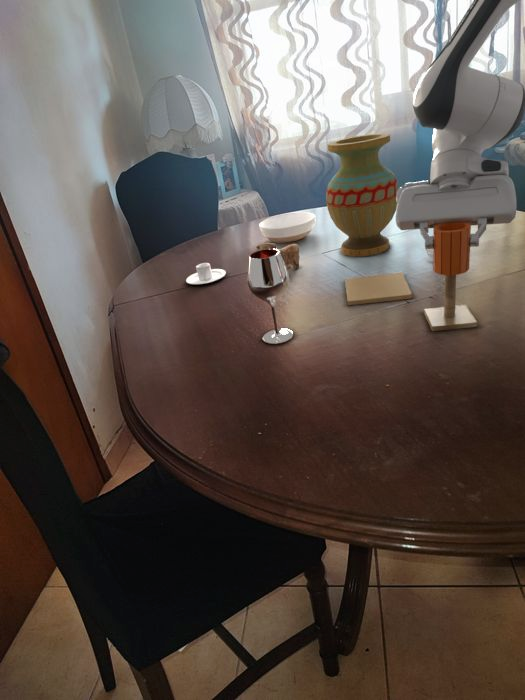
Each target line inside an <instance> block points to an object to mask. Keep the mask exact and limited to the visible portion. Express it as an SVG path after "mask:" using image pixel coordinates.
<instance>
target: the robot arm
mask: <svg viewBox="0 0 525 700" xmlns="http://www.w3.org/2000/svg"><path fill="white" fill-rule="evenodd" d="M521 1H522V0H473V1H472V3H470V6H468V9H467V10H466V12H465V14H464V15H463V17H462V18H461V19H460V22H459V23H458V25H457V26H456V27H455V29H454V30H453V32H452V34H451V35H450V37H449V39H448V40H447V42H446V43H445V44H444V46H443V48H442V49H441V51H440V53H438V55H437V56H436V57H435V59H434V60H433V61H432V63H430V65H429V66H428V68H427V69H425V72H424V73H423V75H422V76H421V78H420V80H419V81H418V83H417V85H416V88H415V89H414V92H413V95H412V101H411V106H412V110H413V113H414V116H415V118H416V120H417V121H418V123H419V124H420V126H421V127H422V128H427V129H433V134H432V141H431V148H432V149H431V150H432V152H433V157H432V160H431V163H430V173H429V174H430V175H429V180H422V181H421V180H420V181H416V182H413V181H411V182H405V184H404V185H402V186H399V187H398V191H397V196H396V201H397V203H398V204H397V209H396V212H395V225H396V227H397V228H398V229H399V230H400V231H412V230H419V232H420V235H421V236H422V238H423V240H424V249H425V250H426V249H434V242H433V241H434V238H433V235H429V234H428V233H429V229H434V227H435V226H437V225H439V224H442V223H448V222H452V223H453V222H465V223H469V224H470V225H471V227H473V226H477V230H476V231H475V233H471V235H470V248H473V247H477V248H478V247H479V246H480V239H481V237H482V236H483V235H484V233H485V231H486V230H487V226H488V225H501V224H510V223H512V221H514V219H515V218H516V214H517V194H516V187H515V184H514V181H513V179H512V178H511V177H510V176H509V175H510V167H509V163H508V161H506V160H500V159H492V158H487V157H483V156H482V155H483V152H484V151H485V150H486V151H488V150H490V149H492V148H494V147H495V146H497V145H498V144H500V143H501V142H502V141H505V140H506V139H507V138H509V137H511V135H513V134H514V133H515V132H516V130H518V128H519V127H520V125H521V124H522V122H523V119H524V115H525V88H524V85H523V84H522V83H521V82H518V81H515V80H513V79H510V78H506V77H503V76H501V75H497V74H492V73H489V72H485V71H482V70H479V69H476V68H473V67H471V66H470V64H471V62H472V61H473V59H474V58H475V56H476V55H477V54H478V52H479V51H480V49H481V47H482V46H483V45H484V43H485V42H486V41H487V39H488V38H489V36H490V35H491V34H492V31H493V30H494V29H495V27H496V26H497V24H498V23H499V21H500V20H501V19H502V17H503V16H504V15H505V14H506V13H507V12H508V10H509V9H511V8H512V7H513V6H515V5H516V4H517V3H519V2H521Z"/></svg>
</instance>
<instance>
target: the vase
mask: <svg viewBox="0 0 525 700" xmlns="http://www.w3.org/2000/svg"><path fill="white" fill-rule="evenodd" d="M390 141H391V133H387V132H382V133H381V132H380V133H379V132H378V133H370V134H363V135H356V136H350V137H346V138H341V139H337V140H334V141H330V142H328V143H327V152H329V153H332V154H335V155H337V156H338V157H339V158H340V167H339V170H338V171H336V173H335V175H334V176H332V178H331V179H330V181H329V182H328V184H327V187H326V191H325V192H326V193H325V201H326V205H327V206H326V207H327V212H328V215H329V216H330V217H329V218H330V219H331V220H332V222H333V224H334V225H335V227H336V228H337V229H338V230H339V231H341V232H342V233H344V234H345V235H346V236H348V238H347V239H346V240H344V241H343V242H342V243H341V246H340V247H341V253H342V254H343V255H346V256H348V257H369V256H374V255H378V254H381V253H384V252H386V251H387V250H388V249H390V239H389V238H388V237H386V236H385V235H383V234H381V233H382V231H383V230H384V229H385V228H386V227H387V226H388V225H389V224H390V222H391V221H393V218H394V216H395V215H396V210H397V205H398V203H397V201H396V196H397V191H398V189H399V183H398V179H397V177H396V175H395V174H394V172H393V171H392V170H390V169H389V168H388V167H386V166H385V165H383V164H382V163H381V161H380V158H379V152H380V150H381V149H382V147H384V146H385V145H386V144H388V143H389V142H390Z"/></svg>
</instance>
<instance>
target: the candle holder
mask: <svg viewBox="0 0 525 700" xmlns="http://www.w3.org/2000/svg"><path fill="white" fill-rule="evenodd" d="M211 267H212V266H211V264H210V263H209V262H202V263H198V264H197V265H196V266H195V269H196V272H195V273H193V274H190V275H189V276H187V278H186V279H185V282H186V283H187V284H189V285H204V284H205V285H206V284H209V283H210V284H211V283H213V282H215V281H219V280H220V279H222V278H223V277H225V276H226V274H227V272H226V270H224V269H221V268H211Z"/></svg>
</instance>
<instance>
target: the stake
mask: <svg viewBox="0 0 525 700" xmlns="http://www.w3.org/2000/svg"><path fill="white" fill-rule="evenodd" d="M443 290H444V292H443V293H444V294H443V295H444V296H443V306H440V307H432V308H431V307H430V308H423V314H424V316H425V319H426V320H427V322H428V325H429V328H430V330H431V331H432V332H437V331H438V332H439V331H450V330H461V329H468V328H469V329H470V328H477V327H478V321H477V320H476V318H475V317H474V315H473V313H472V312H471V311H470V310H469V308H468V307H467V305H466V304H460V305H459V304H458V305H456V301H457V300H456V295H457V275H450V276H449V275H444V289H443Z"/></svg>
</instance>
